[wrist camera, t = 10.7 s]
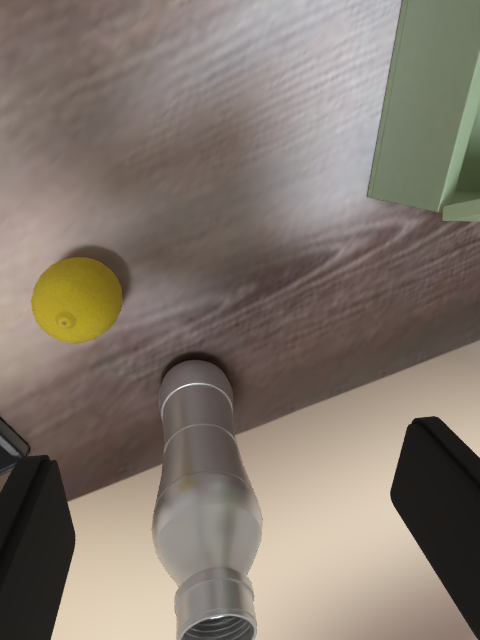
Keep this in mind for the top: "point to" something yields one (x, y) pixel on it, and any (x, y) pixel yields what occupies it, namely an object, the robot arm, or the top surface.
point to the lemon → (77, 299)
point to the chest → (431, 108)
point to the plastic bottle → (205, 507)
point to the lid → (462, 211)
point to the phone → (10, 448)
